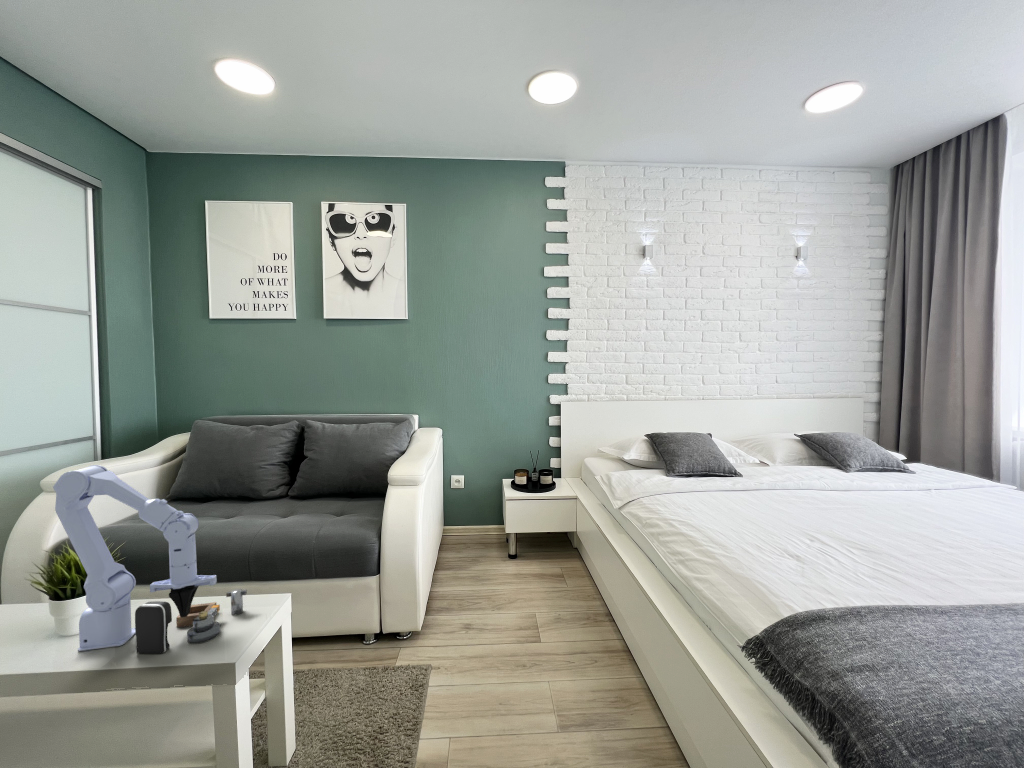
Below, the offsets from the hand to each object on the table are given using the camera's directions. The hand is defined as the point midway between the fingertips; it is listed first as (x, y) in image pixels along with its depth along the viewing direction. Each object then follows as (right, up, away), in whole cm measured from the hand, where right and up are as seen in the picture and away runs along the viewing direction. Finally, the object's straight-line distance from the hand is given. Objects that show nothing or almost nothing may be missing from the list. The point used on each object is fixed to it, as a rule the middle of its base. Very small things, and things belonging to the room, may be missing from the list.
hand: (185, 615), depth 122 cm
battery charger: (-1, -4, -9) cm, 10 cm away
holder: (-1, -4, +6) cm, 7 cm away
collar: (+6, -2, 0) cm, 6 cm away
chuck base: (+7, -4, -3) cm, 8 cm away
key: (+8, -4, +9) cm, 13 cm away
